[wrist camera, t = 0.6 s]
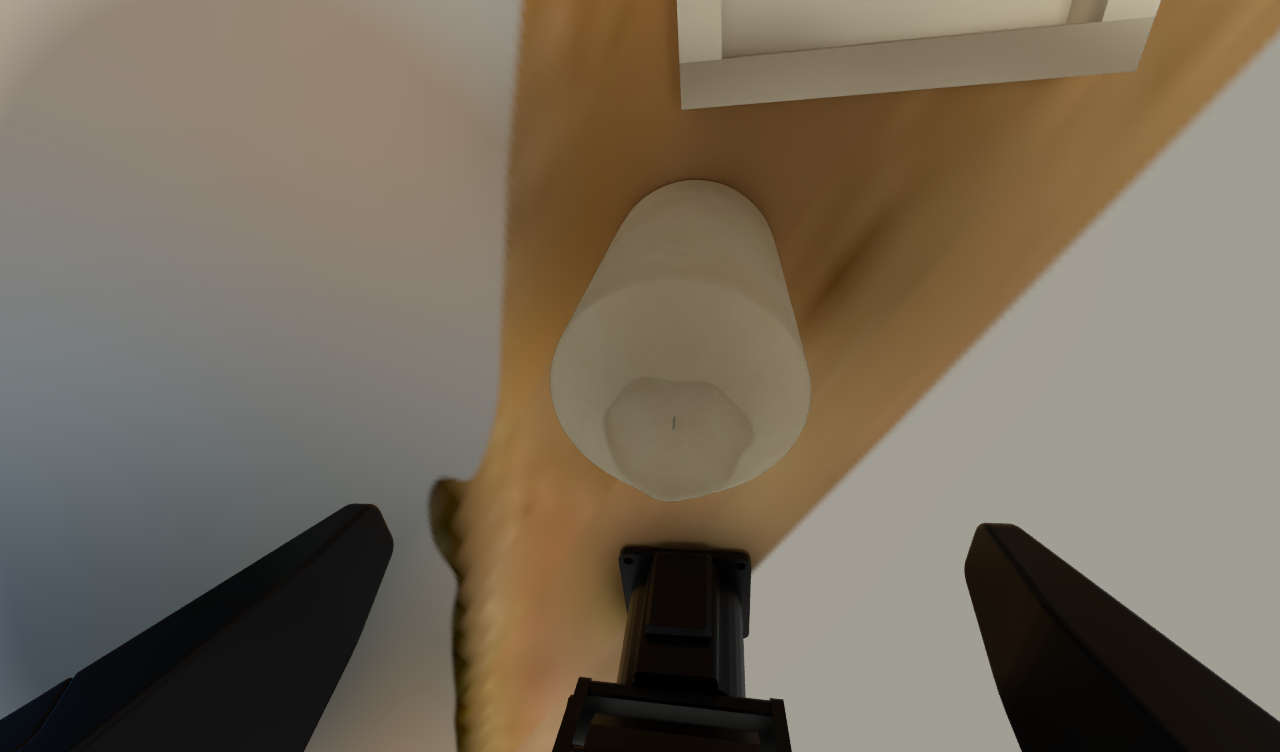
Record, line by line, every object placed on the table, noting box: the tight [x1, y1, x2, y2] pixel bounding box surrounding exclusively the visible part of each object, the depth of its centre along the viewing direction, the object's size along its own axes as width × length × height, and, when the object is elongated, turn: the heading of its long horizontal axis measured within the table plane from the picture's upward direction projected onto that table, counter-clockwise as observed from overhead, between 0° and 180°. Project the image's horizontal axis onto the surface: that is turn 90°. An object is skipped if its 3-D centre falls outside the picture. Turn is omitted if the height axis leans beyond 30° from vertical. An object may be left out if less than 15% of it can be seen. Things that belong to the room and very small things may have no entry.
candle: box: [550, 180, 811, 502], centre depth 14 cm, size 6×6×10 cm
